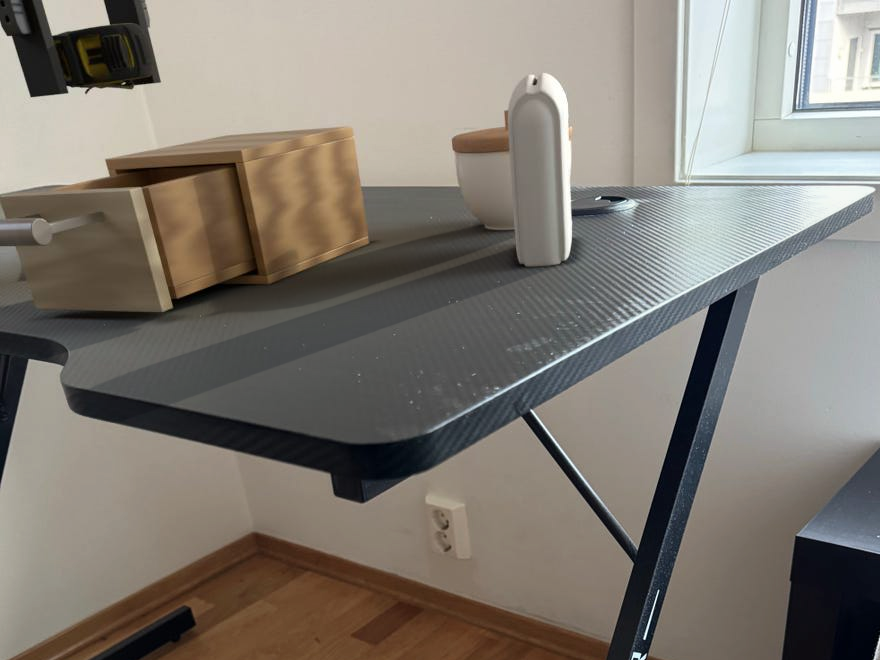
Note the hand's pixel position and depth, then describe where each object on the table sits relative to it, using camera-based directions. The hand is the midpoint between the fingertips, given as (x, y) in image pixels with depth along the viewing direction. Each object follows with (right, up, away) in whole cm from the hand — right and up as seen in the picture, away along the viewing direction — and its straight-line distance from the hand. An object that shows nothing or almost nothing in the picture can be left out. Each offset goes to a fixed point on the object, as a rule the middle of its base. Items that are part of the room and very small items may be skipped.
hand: (98, 89), depth 64 cm
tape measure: (0, 0, 0) cm, 0 cm away
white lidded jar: (+30, 0, +22) cm, 37 cm away
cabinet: (+7, -5, +18) cm, 20 cm away
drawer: (0, -12, +6) cm, 14 cm away
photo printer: (+32, -8, +9) cm, 34 cm away
